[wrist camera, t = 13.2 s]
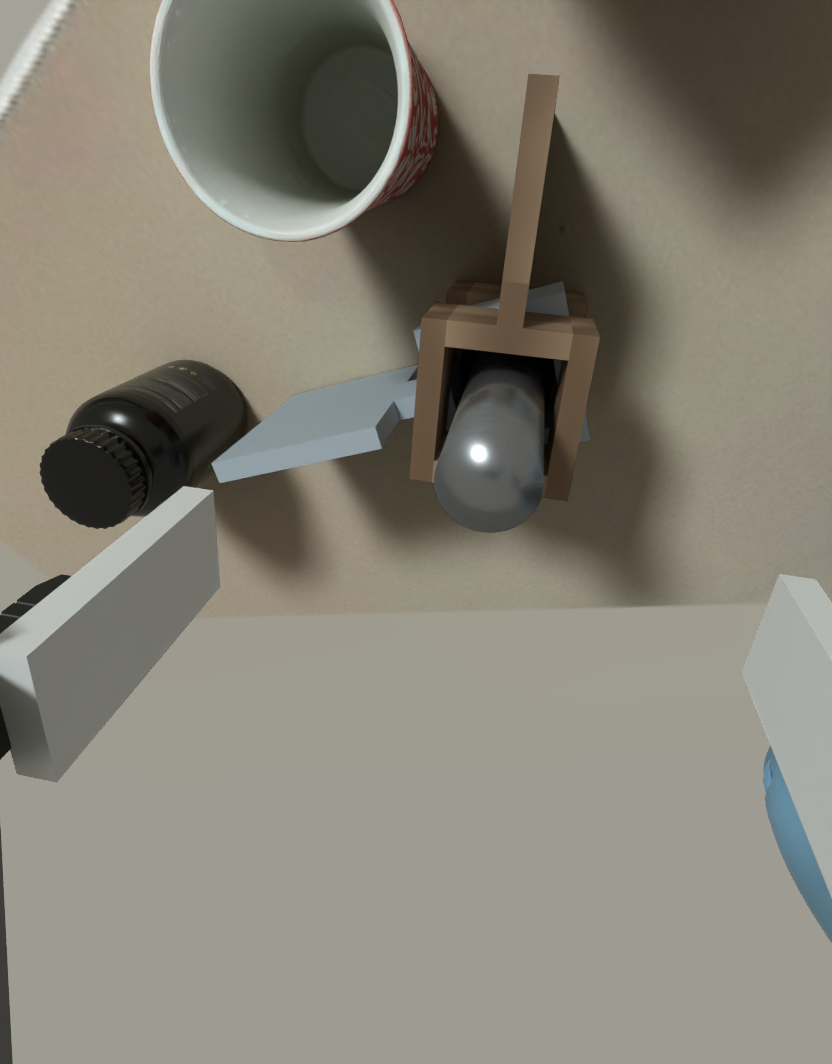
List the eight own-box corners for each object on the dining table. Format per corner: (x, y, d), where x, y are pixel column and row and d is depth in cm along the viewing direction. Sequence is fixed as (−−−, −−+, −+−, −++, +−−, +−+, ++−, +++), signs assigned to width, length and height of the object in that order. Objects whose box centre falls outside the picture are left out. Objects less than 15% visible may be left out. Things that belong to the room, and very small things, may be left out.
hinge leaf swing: (560, 271, 35) (567, 305, 25) (582, 396, 38) (596, 472, 28) (277, 347, 40) (185, 402, 29) (315, 454, 42) (242, 538, 32)
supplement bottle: (127, 387, 43) (-10, 452, 32) (208, 337, 40) (89, 390, 30) (189, 478, 45) (81, 566, 34) (270, 436, 43) (180, 517, 32)
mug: (471, 207, 35) (433, 216, 23) (307, 238, 37) (195, 262, 25) (431, -109, 29) (355, -309, 18) (242, -51, 31) (61, -196, 20)
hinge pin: (549, 321, 36) (551, 439, 21) (539, 385, 38) (534, 539, 23) (484, 314, 37) (438, 426, 21) (476, 378, 39) (429, 524, 23)
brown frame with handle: (615, 117, 32) (651, 81, 21) (560, 416, 39) (567, 500, 28) (474, 106, 33) (440, 67, 22) (444, 401, 40) (409, 479, 29)
